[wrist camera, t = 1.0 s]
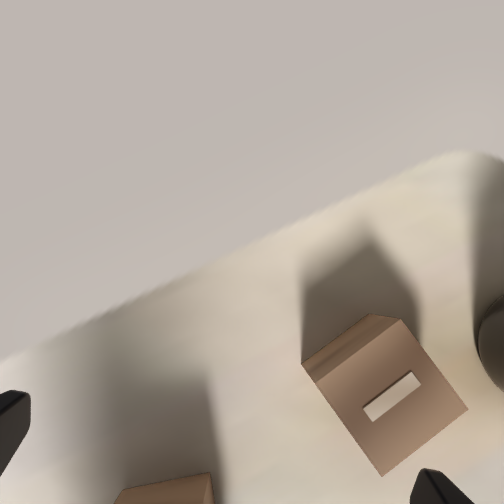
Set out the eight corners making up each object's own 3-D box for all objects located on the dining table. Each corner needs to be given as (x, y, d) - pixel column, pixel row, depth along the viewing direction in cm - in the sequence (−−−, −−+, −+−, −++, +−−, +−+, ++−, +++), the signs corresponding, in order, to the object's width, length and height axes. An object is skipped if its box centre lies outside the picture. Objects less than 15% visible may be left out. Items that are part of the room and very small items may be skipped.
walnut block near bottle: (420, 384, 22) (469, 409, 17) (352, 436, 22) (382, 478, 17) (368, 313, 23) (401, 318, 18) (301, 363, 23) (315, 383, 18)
